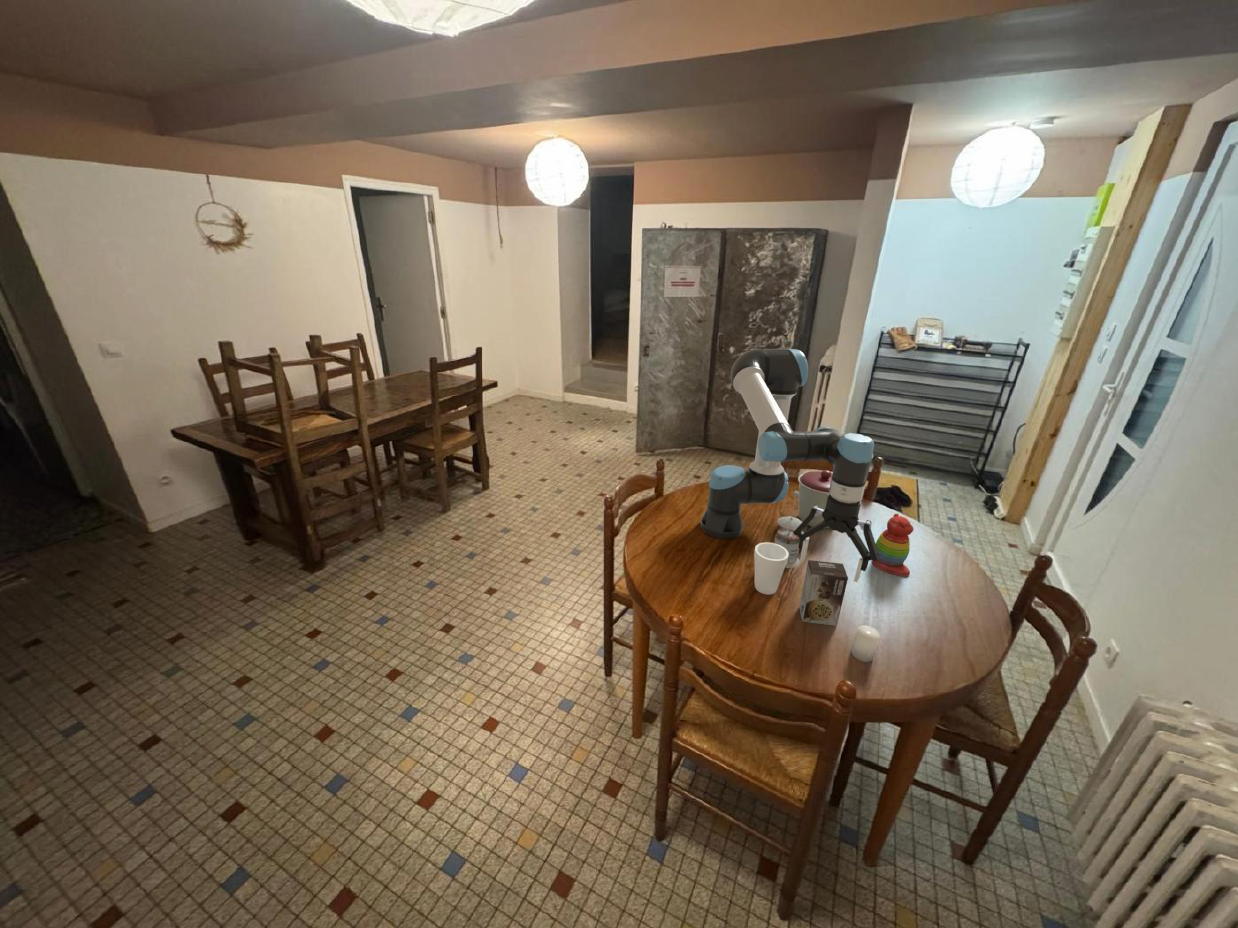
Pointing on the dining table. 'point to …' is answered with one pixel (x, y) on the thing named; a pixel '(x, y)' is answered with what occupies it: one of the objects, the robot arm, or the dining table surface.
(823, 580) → the coffee box
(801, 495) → the canister
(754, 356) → the robot arm
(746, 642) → the dining table surface
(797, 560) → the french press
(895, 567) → the stacking bear
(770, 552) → the foam cup
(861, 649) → the white cylinder
